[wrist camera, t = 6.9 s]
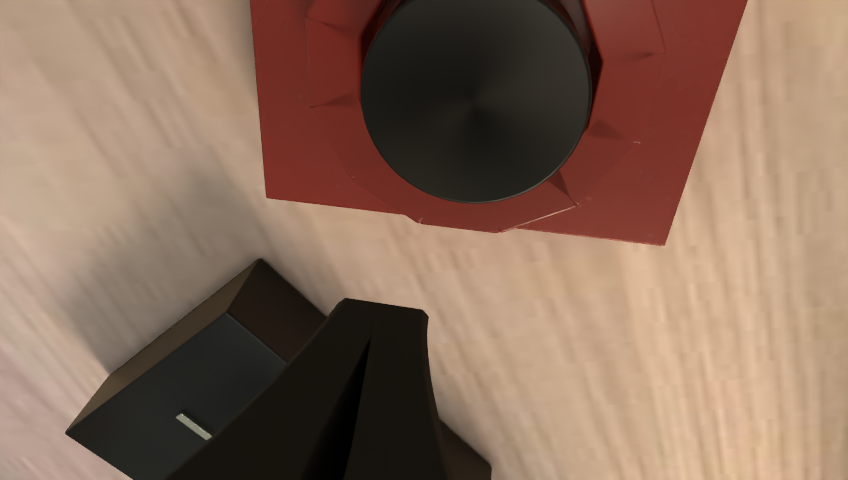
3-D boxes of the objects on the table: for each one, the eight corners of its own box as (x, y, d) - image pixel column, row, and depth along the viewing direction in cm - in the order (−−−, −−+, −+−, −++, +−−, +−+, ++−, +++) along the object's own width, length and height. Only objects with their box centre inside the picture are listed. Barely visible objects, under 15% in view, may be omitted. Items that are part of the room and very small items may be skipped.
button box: (289, 165, 19) (241, 231, 15) (269, -189, 14) (192, -205, 11) (649, 207, 18) (680, 286, 15) (760, -151, 13) (845, -155, 10)
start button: (374, 157, 14) (357, 191, 13) (379, -46, 12) (360, -34, 10) (561, 179, 14) (567, 217, 12) (604, -26, 12) (618, -9, 10)
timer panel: (108, 376, 25) (60, 437, 22) (260, 256, 21) (223, 314, 18) (328, 537, 29) (310, 604, 27) (492, 466, 25) (490, 538, 22)
